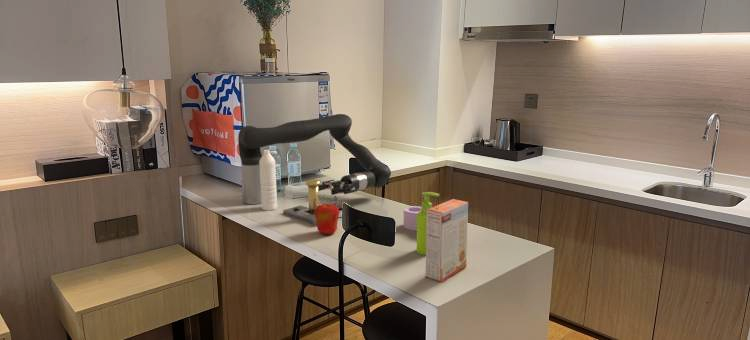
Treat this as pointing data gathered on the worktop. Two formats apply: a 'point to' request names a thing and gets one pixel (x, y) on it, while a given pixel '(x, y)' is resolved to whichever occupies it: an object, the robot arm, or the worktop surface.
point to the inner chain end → (293, 213)
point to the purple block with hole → (411, 217)
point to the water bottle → (268, 181)
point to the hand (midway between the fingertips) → (324, 190)
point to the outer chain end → (307, 215)
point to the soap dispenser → (423, 222)
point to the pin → (313, 194)
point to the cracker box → (446, 239)
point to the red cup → (327, 218)
